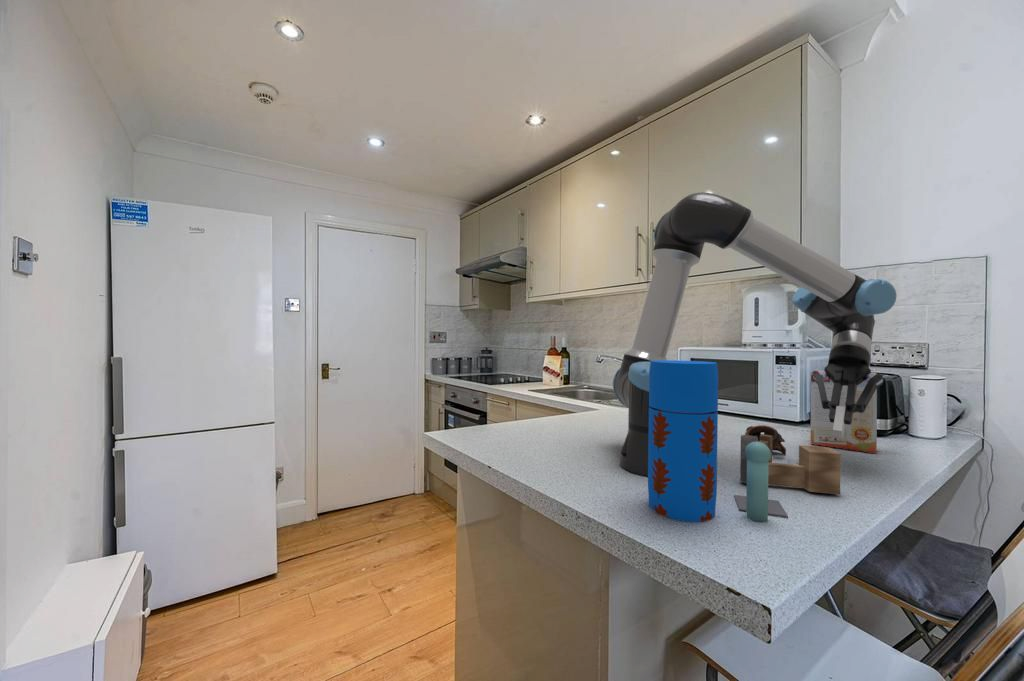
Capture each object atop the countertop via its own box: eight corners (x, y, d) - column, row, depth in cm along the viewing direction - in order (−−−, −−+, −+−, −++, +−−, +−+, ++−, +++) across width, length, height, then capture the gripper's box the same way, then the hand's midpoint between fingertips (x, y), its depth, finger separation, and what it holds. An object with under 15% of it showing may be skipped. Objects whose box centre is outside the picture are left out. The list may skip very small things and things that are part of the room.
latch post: (741, 517, 67) (742, 441, 67) (748, 510, 69) (749, 438, 69) (766, 524, 64) (767, 445, 64) (772, 517, 67) (773, 442, 67)
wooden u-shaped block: (743, 485, 81) (744, 439, 80) (737, 476, 85) (737, 433, 85) (840, 494, 76) (840, 445, 76) (827, 485, 81) (828, 439, 81)
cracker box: (876, 450, 110) (877, 372, 110) (876, 454, 106) (877, 373, 106) (812, 441, 120) (813, 369, 120) (809, 444, 115) (810, 370, 115)
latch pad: (734, 496, 76) (734, 494, 76) (778, 502, 73) (778, 500, 73) (739, 510, 69) (739, 508, 69) (788, 518, 67) (788, 516, 67)
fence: (747, 480, 85) (747, 441, 85) (761, 469, 92) (762, 434, 92) (758, 482, 84) (758, 443, 83) (772, 471, 90) (772, 435, 90)
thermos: (685, 527, 63) (687, 364, 63) (634, 502, 72) (636, 360, 72) (730, 514, 68) (732, 363, 68) (677, 492, 77) (679, 359, 77)
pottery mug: (798, 460, 101) (791, 433, 99) (764, 477, 102) (755, 450, 99) (764, 436, 113) (757, 412, 111) (733, 451, 113) (725, 427, 111)
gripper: (886, 366, 96) (879, 450, 85) (818, 363, 106) (803, 439, 94) (885, 343, 92) (877, 428, 81) (814, 342, 102) (798, 419, 90)
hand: (838, 434), depth 87 cm, fingers closed
